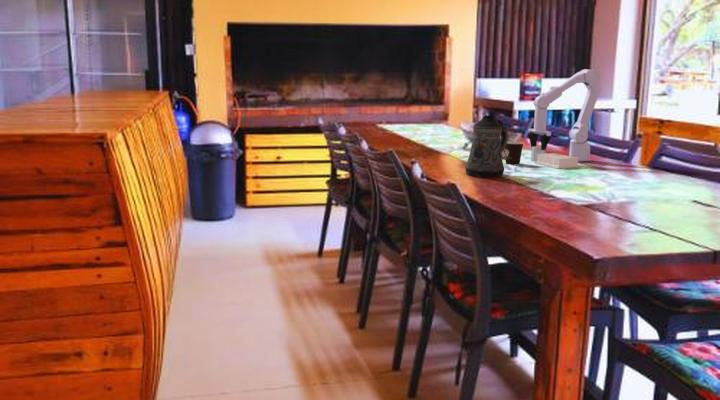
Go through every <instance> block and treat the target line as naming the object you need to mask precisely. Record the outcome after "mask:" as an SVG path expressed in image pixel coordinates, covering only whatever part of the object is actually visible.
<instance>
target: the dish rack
mask: <svg viewBox="0 0 720 400" xmlns="http://www.w3.org/2000/svg"><path fill="white" fill-rule="evenodd" d="M578 163H579V162H578V157H573V156H569V155H568V154H564V155H563V154H562V153H557V152H552V153H545V154H538V155H537V161H534V164H536V165H540V166H543V165H544V167H547V166H549V167H548V168H552V167H553V169H556V168H557V170H558V169H560V168H561V169H572V168H573V167H574V168H580V167H581V166H580V164H578ZM574 168H573V169H574Z"/></svg>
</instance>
